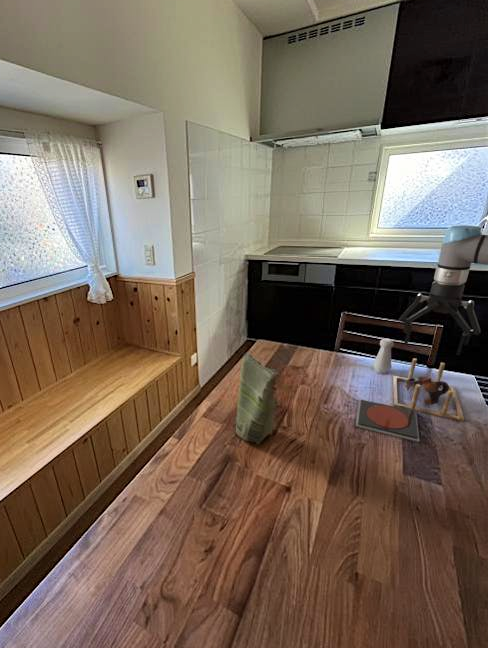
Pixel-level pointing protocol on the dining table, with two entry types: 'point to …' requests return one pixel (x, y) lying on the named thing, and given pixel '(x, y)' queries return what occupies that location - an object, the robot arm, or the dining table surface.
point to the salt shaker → (384, 356)
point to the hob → (388, 420)
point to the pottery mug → (429, 388)
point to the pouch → (255, 400)
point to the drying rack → (416, 392)
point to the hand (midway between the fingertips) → (431, 347)
